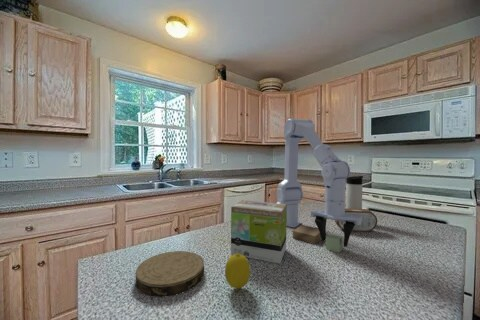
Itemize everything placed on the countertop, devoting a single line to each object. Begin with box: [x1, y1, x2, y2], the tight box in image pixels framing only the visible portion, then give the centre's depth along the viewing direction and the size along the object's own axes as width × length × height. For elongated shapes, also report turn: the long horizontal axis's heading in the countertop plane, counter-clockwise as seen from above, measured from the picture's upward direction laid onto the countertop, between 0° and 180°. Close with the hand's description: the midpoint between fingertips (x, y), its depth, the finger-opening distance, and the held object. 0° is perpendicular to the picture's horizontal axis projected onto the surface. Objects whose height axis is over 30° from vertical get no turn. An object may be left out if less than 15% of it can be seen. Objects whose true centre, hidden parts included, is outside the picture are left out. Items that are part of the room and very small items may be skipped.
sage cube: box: [325, 232, 344, 253], centre depth 70 cm, size 4×4×4 cm
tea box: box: [230, 199, 288, 265], centre depth 67 cm, size 15×10×15 cm, turn 70°
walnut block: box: [292, 224, 321, 245], centre depth 80 cm, size 8×8×3 cm
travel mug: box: [345, 175, 364, 209], centre depth 97 cm, size 6×7×20 cm
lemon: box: [224, 253, 251, 290], centre depth 49 cm, size 6×6×8 cm
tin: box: [334, 208, 378, 233], centre depth 86 cm, size 15×3×8 cm, turn 84°
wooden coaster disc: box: [135, 250, 205, 298], centre depth 55 cm, size 16×16×3 cm
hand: (334, 242), depth 70 cm, fingers open, 6 cm apart
